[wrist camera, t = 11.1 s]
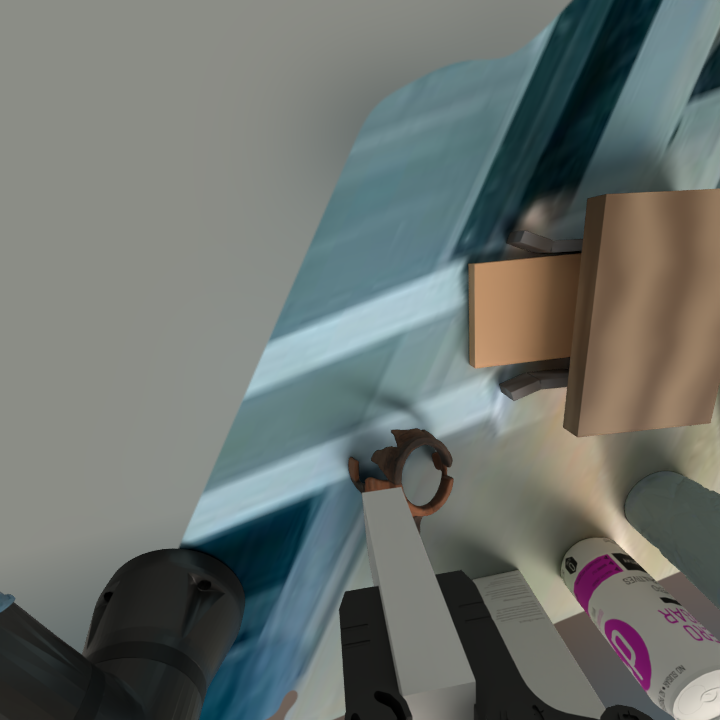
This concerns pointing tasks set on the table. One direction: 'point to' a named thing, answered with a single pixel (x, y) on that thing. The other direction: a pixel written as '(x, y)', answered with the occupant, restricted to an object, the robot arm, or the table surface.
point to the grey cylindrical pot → (680, 526)
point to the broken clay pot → (392, 467)
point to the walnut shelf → (639, 314)
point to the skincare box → (537, 645)
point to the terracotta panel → (522, 309)
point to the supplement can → (646, 629)
